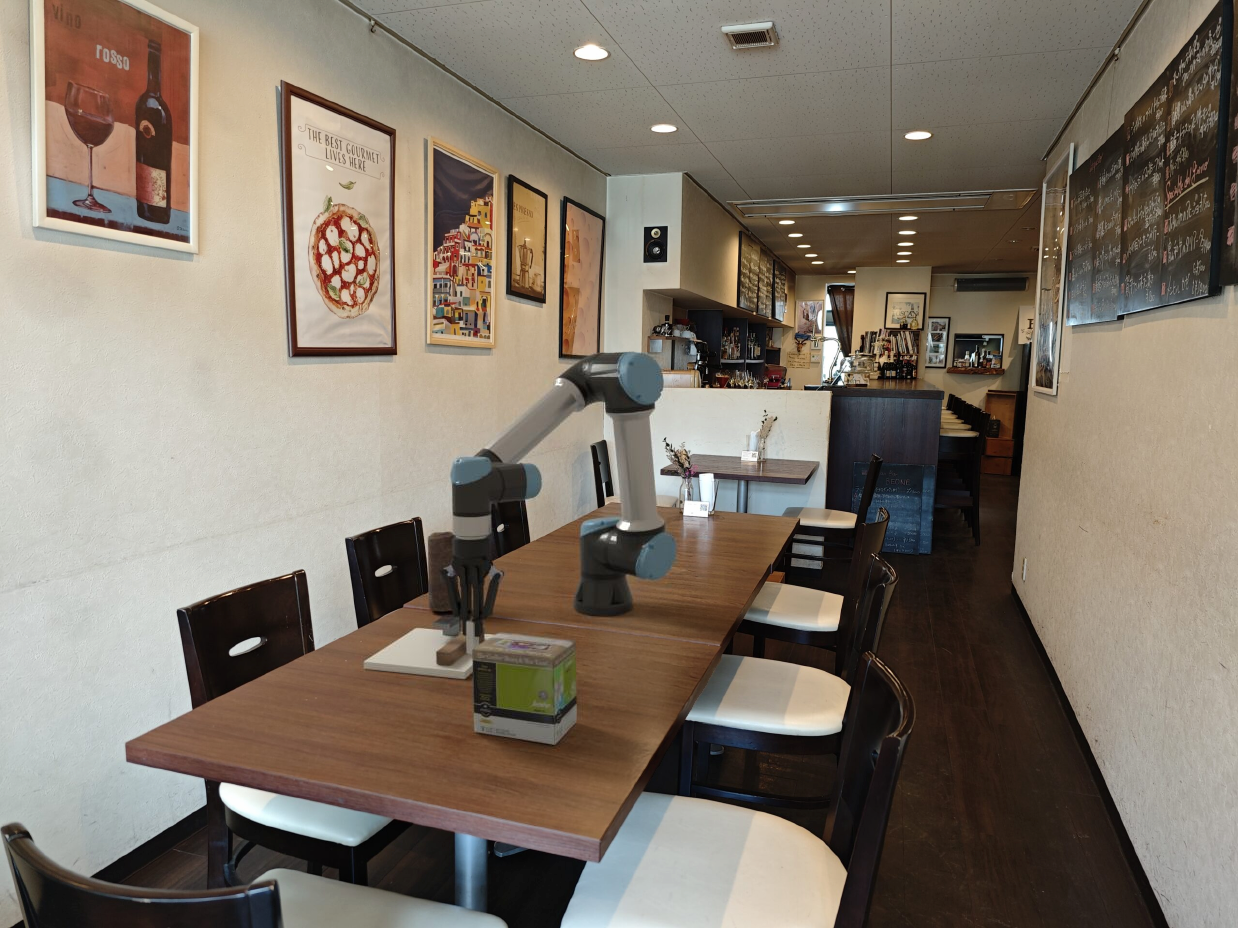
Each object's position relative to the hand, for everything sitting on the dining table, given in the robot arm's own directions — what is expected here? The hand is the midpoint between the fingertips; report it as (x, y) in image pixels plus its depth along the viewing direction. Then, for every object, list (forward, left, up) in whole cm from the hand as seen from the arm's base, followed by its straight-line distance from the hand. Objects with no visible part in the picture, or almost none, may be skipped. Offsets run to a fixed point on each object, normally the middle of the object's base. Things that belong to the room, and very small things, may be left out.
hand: (472, 651), depth 159 cm
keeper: (+12, -13, -3) cm, 18 cm away
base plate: (+11, -7, -4) cm, 13 cm away
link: (+5, -6, -2) cm, 9 cm away
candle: (+24, -36, -4) cm, 43 cm away
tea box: (-19, +21, -4) cm, 29 cm away
